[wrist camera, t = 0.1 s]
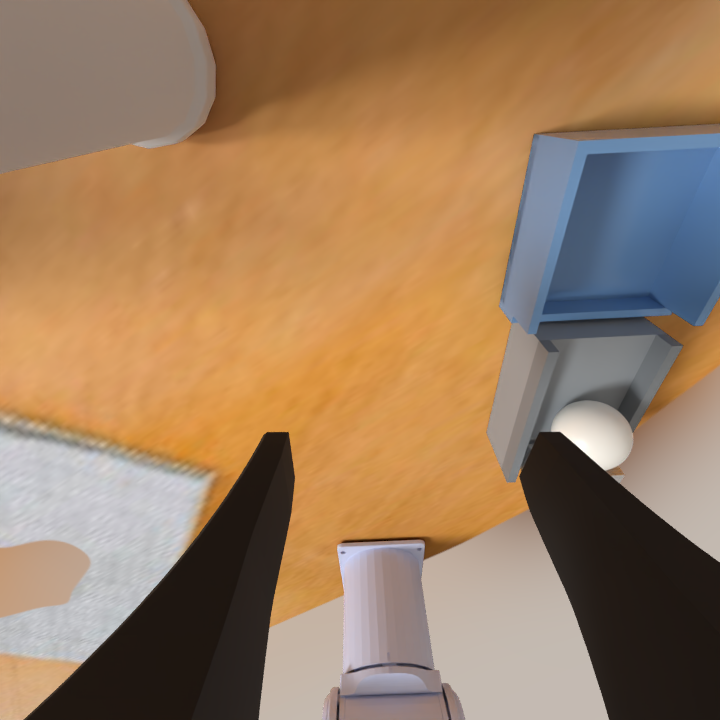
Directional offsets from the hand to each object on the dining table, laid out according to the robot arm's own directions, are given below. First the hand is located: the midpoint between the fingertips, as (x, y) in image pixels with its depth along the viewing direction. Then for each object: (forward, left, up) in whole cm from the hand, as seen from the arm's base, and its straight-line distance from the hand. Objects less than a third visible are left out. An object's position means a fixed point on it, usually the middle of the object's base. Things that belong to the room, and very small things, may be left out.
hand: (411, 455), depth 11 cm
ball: (-6, -10, -5) cm, 13 cm away
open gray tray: (-5, -10, -10) cm, 15 cm away
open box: (+3, -10, -10) cm, 15 cm away
